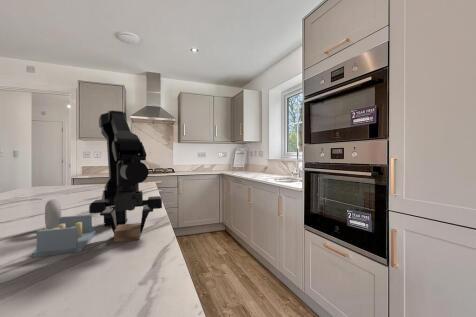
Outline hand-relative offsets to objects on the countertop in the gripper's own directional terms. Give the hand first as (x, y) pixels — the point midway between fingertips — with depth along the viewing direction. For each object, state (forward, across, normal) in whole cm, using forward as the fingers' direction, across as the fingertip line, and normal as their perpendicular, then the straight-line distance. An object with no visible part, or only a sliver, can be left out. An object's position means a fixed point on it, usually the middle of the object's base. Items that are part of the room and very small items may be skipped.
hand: (128, 233), depth 68 cm
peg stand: (+1, -15, 0) cm, 15 cm away
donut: (+1, -24, +15) cm, 28 cm away
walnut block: (+1, 0, 0) cm, 1 cm away
